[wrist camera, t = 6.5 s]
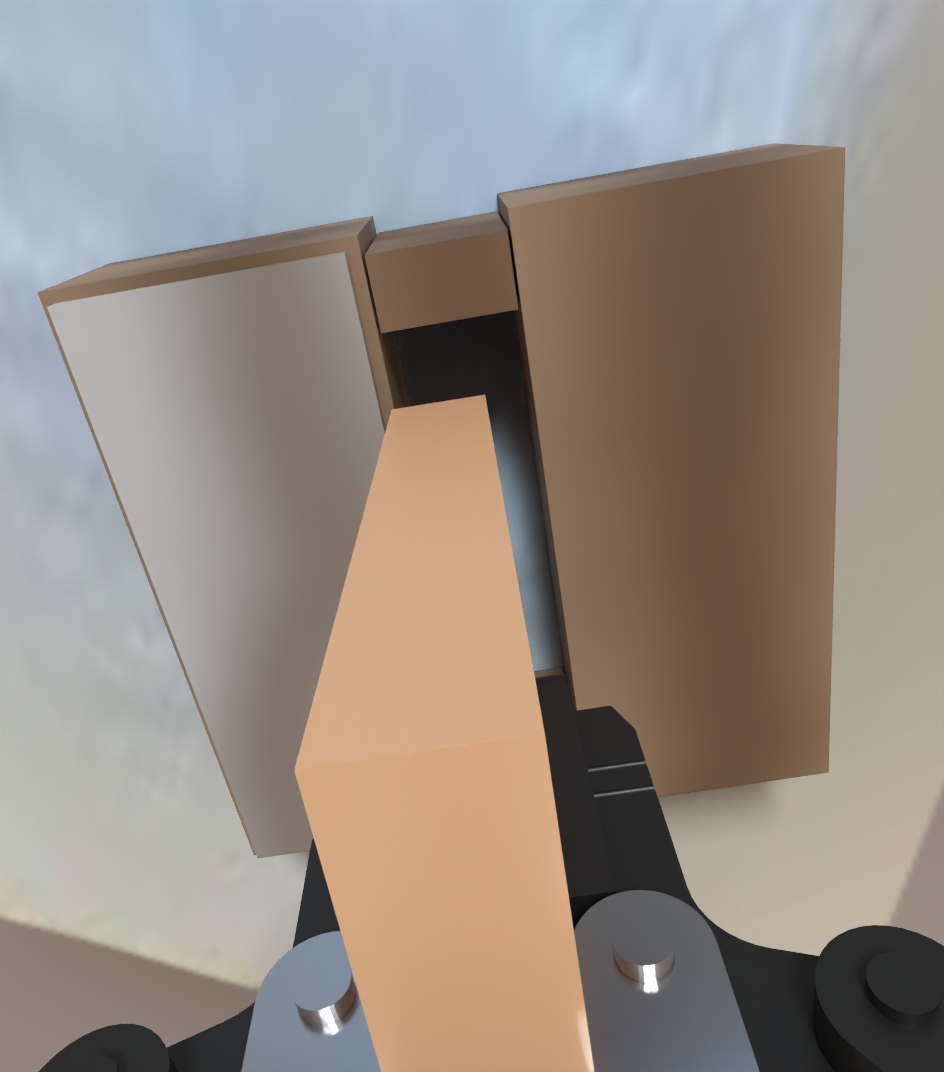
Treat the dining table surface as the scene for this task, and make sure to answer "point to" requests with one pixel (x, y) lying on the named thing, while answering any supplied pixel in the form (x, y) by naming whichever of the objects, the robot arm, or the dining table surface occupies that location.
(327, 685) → the peach rectangular slab
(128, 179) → the dining table surface
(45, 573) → the dining table surface
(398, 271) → the brown slotted wooden block
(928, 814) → the dining table surface
